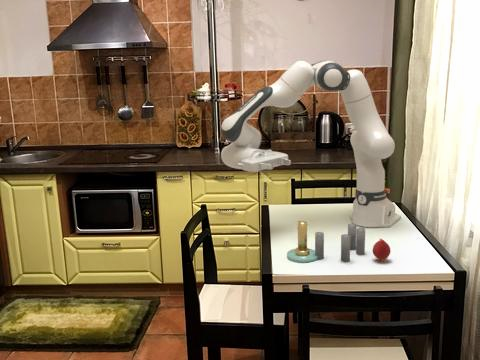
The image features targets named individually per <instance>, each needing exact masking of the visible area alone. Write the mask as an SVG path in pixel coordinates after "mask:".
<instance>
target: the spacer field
mask: <svg viewBox="0 0 480 360" xmlns="http://www.w3.org/2000/svg"><path fill="white" fill-rule="evenodd" d="M340 236H341V237H340V238H341V239H340V261H341V262H342V263H349V262H350V260H351V259H350V258H351V251H355V254H356V255H358V256H363V255H365V254H366V253H365V251H366V228H365V227H358V228H357V225H356V224H354V223H348V224H347V233H344V234H341V235H340ZM314 250H315V255H316V256H317V260H324V258H325V254H324V253H325V233H324V232H322V231H317V232H315V233H314Z"/></svg>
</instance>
